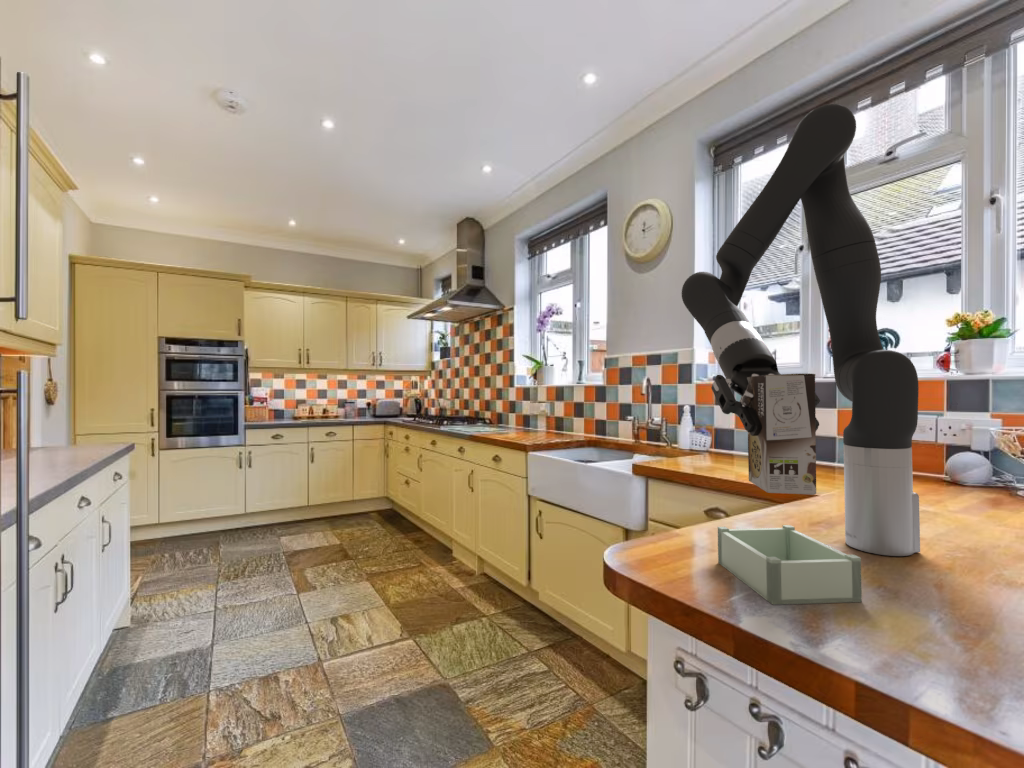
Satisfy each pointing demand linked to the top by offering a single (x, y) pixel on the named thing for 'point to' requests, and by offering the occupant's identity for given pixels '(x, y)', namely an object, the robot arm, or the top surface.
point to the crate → (789, 566)
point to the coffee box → (784, 434)
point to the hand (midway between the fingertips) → (785, 431)
